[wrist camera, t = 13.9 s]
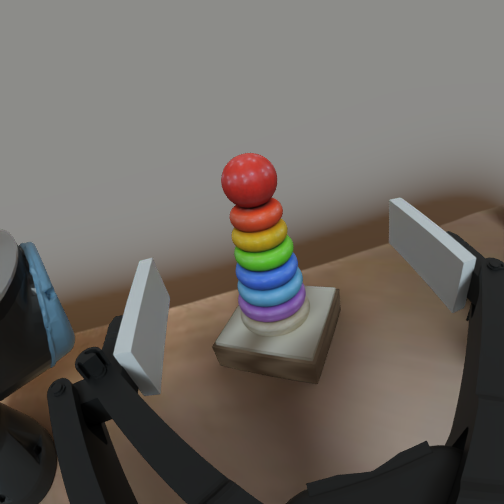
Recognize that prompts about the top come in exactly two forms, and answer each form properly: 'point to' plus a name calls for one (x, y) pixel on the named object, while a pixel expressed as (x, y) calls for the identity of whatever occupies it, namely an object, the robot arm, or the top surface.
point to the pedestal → (284, 342)
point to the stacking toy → (263, 250)
